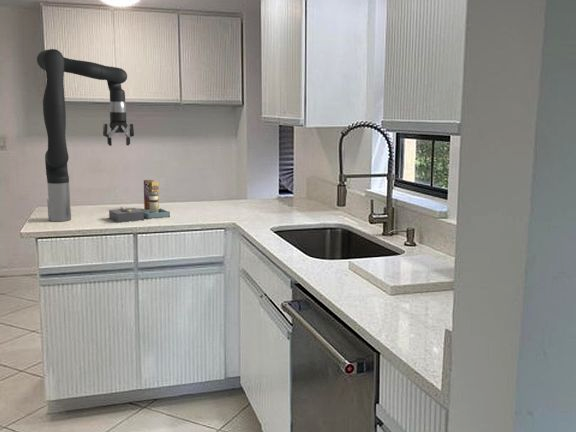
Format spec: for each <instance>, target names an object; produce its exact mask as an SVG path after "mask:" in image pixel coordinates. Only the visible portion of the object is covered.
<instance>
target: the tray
mask: <svg viewBox="0 0 576 432" xmlns="http://www.w3.org/2000/svg"><path fill="white" fill-rule="evenodd" d="M140 210H141V211H143V215H144V219H145V220H146V219H147V220H151V219H152V218H155V219H161V218H163V217H165V218H170V217H171V215H170V214H171V213H170V210H166V209H163V208H160V207H159V209H158V212H159V213H150V209H149V210H144V209H140ZM152 220H153V219H152Z"/></svg>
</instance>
